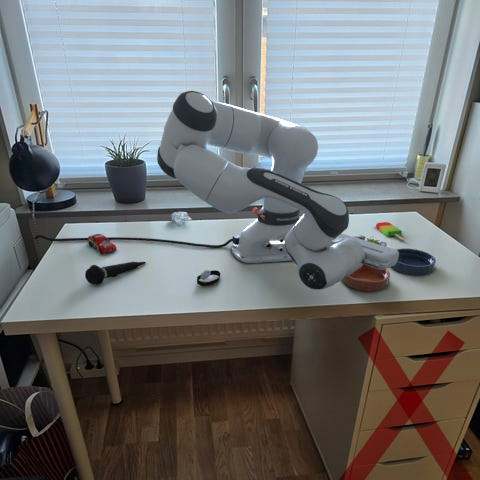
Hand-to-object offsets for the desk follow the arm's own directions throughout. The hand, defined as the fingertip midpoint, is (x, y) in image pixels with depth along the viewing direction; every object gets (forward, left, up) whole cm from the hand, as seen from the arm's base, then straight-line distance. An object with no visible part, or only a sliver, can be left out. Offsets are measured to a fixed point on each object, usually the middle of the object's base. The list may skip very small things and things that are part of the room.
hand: (373, 241), depth 122 cm
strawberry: (-1, 0, -8) cm, 8 cm away
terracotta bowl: (-1, 0, -12) cm, 12 cm away
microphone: (-68, +25, -12) cm, 73 cm away
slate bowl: (+18, +4, -12) cm, 22 cm away
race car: (-71, +47, -12) cm, 86 cm away
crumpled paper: (-41, +63, -12) cm, 76 cm away
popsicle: (+28, +28, -12) cm, 41 cm away
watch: (-44, +13, -12) cm, 47 cm away
